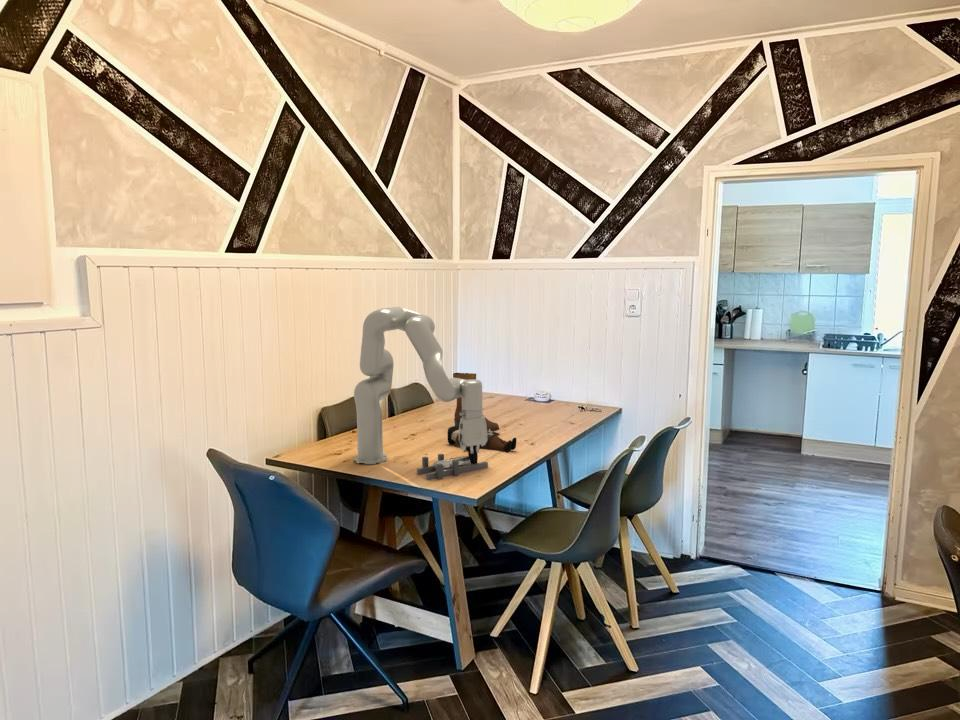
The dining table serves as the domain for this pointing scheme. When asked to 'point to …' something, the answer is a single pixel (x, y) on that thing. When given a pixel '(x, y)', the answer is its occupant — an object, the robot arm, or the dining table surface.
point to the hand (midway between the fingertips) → (473, 462)
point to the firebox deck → (441, 474)
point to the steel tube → (448, 462)
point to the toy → (491, 443)
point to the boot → (457, 418)
